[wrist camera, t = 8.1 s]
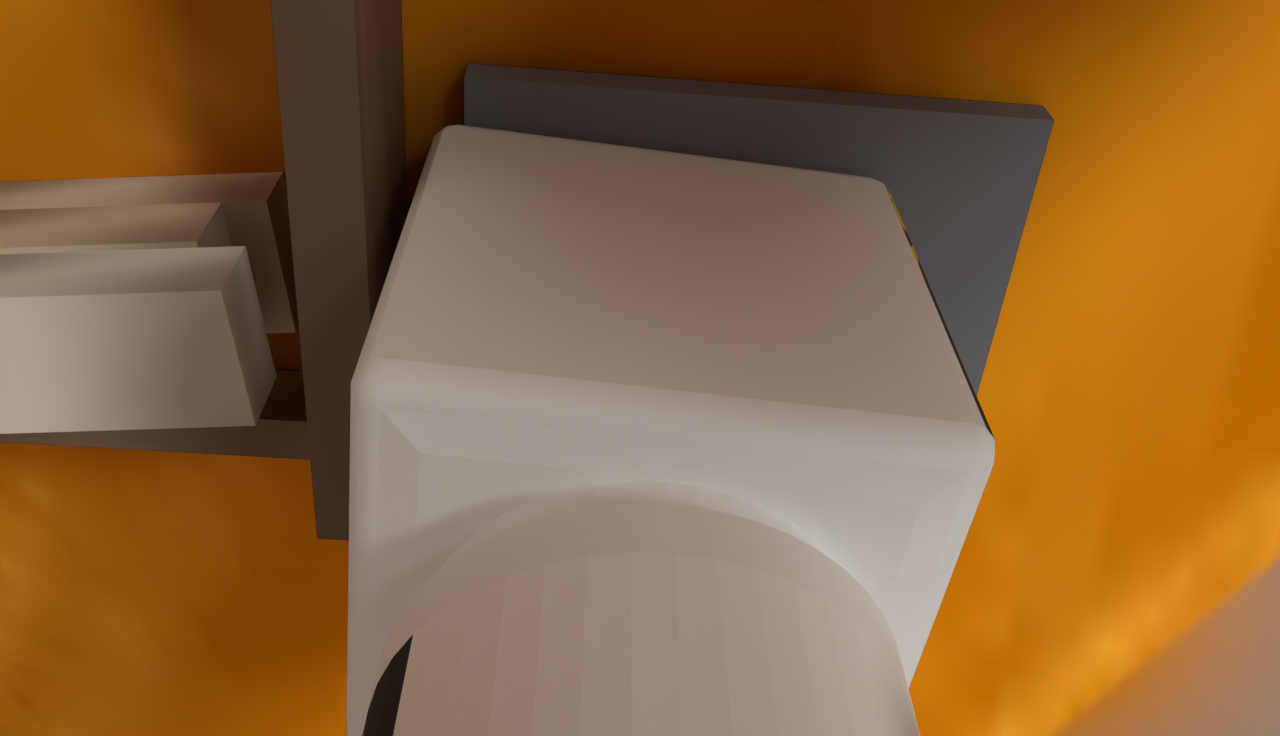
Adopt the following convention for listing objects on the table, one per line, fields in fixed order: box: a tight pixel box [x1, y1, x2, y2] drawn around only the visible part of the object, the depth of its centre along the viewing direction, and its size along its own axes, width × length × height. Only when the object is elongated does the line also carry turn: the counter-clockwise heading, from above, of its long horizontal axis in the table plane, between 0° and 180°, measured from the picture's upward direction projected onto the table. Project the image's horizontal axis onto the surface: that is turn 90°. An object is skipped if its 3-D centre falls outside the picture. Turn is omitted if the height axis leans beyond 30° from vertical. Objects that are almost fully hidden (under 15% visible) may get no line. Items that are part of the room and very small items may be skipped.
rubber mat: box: [464, 64, 1054, 396], centre depth 21 cm, size 9×9×1 cm
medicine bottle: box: [346, 125, 995, 736], centre depth 16 cm, size 7×7×12 cm
